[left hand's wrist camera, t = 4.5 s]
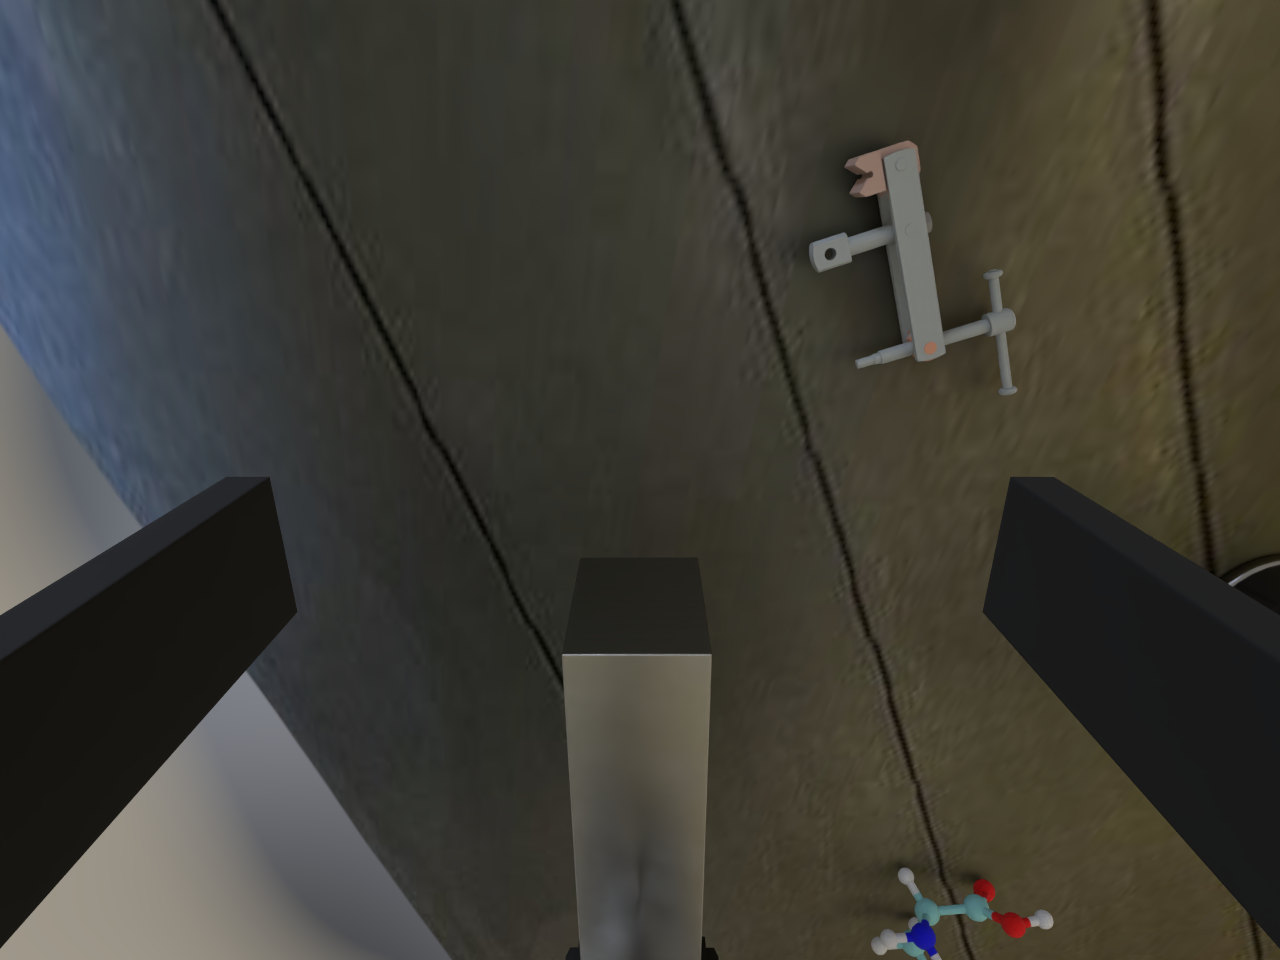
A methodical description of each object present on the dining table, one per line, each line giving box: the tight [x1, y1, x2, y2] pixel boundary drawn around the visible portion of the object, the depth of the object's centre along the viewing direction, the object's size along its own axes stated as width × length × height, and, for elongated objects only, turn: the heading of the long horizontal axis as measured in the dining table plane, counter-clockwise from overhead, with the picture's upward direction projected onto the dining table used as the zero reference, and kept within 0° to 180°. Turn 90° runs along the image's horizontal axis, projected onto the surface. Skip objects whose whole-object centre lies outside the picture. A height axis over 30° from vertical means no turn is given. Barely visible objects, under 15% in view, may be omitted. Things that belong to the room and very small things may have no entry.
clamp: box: [809, 141, 1017, 395], centre depth 38 cm, size 15×2×10 cm
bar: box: [562, 558, 712, 960], centre depth 36 cm, size 27×6×8 cm, turn 0°
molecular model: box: [871, 868, 1053, 960], centre depth 53 cm, size 12×10×10 cm
